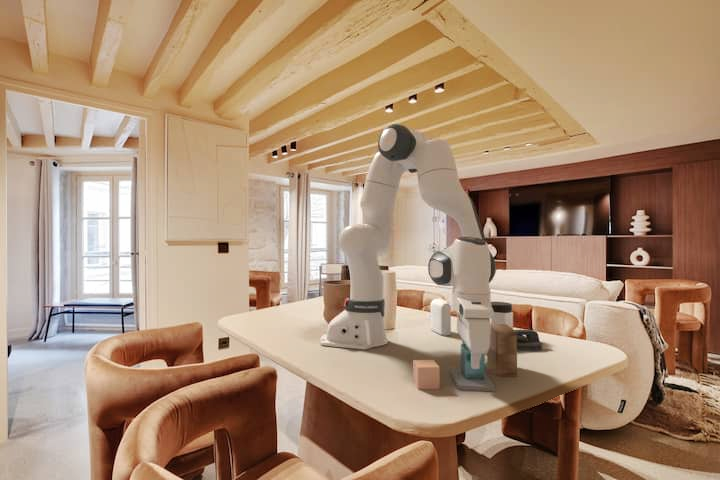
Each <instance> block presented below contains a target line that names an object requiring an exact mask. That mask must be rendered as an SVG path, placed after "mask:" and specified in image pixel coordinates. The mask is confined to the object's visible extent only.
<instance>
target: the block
mask: <svg viewBox="0 0 720 480" xmlns="http://www.w3.org/2000/svg"><path fill="white" fill-rule="evenodd" d="M440 370H441V369H440V366H439V365H438V363H437V362H436V361H435V359H413V360H412V382H413V383H414V385H415V387H416V389H417V390H437V389H438V390H439V389H440V384H441V383H440V373H441V372H440Z"/></svg>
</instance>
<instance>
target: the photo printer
mask: <svg viewBox="0 0 720 480" xmlns="http://www.w3.org/2000/svg"><path fill="white" fill-rule="evenodd" d="M451 309H452V308H451V305H450V304H449V302H447V301H446V300H444V299H443V298H435V299H433V300H432V301H431V302H430V330H431V331H432V332H434V333H437V334H439V335H440V336H447V337H448V336H450V335H451V333H452V332H451V330H452V324H451V323H452V321H451V319H452V315H451V314H452V312H451V311H452V310H451Z"/></svg>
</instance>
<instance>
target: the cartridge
mask: <svg viewBox="0 0 720 480" xmlns="http://www.w3.org/2000/svg"><path fill="white" fill-rule="evenodd" d="M485 355H486V354H481V359H480V368H479V369H472V367H471V365H470V359H471V351H470V350H469V348H468V347H467V345H466V344H460V367H461V373H462V375H463V377H464V378H465V379H472V380H485V373H486V371H485V367H486V366H485V365H486V364H485V361H486V359H485V358H486V356H485Z"/></svg>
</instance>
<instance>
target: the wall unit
mask: <svg viewBox="0 0 720 480" xmlns="http://www.w3.org/2000/svg"><path fill="white" fill-rule="evenodd" d="M515 330H516V329H514V328H513V329H512V328H511V327H509V326H508V325H507V324H491V332H490V345H489V350H488V352H487V354H486V357H487V359H486V361H487V362H486V363H487V365H488V366H489V368H490V369H491V370H492V372H493V373H494V375H495V376H499V377H517V376H518V351H517V332H516V331H515Z"/></svg>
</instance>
